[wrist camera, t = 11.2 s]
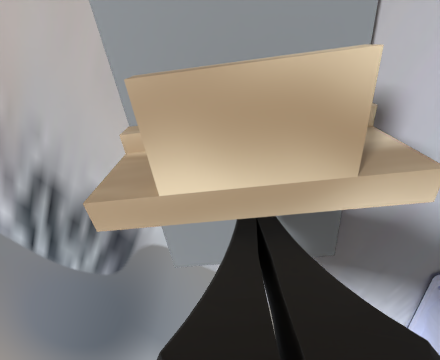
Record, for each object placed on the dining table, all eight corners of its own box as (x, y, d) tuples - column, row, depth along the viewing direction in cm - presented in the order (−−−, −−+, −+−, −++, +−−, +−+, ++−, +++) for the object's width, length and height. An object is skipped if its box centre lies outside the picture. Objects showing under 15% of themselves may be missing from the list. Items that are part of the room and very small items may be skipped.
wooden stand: (350, 166, 12) (420, 234, 8) (148, 187, 13) (111, 259, 9) (373, 34, 10) (503, 28, 5) (110, 70, 10) (26, 92, 6)
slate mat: (332, 250, 16) (334, 255, 16) (175, 263, 17) (174, 267, 17) (508, -838, 4) (536, -926, 4) (-100, -615, 5) (-127, -670, 4)
